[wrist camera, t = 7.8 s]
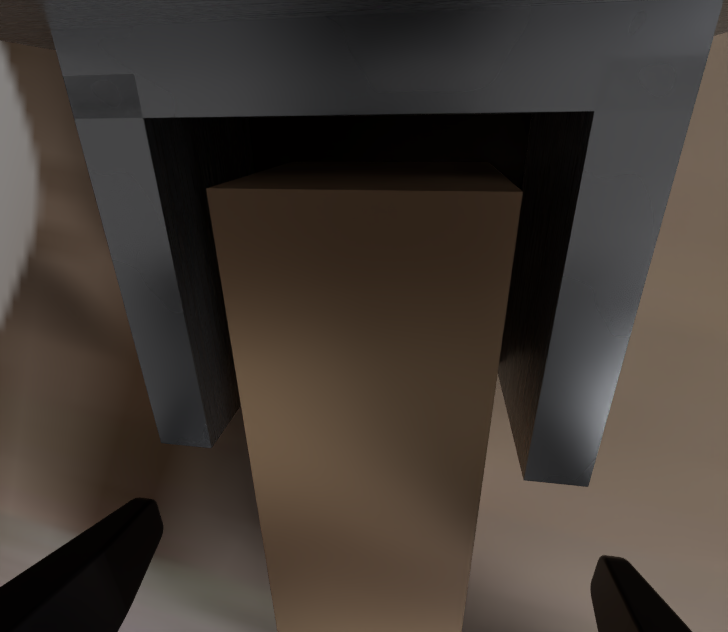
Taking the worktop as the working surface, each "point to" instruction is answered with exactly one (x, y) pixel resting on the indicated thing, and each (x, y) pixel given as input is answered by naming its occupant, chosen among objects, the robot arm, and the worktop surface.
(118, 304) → the worktop surface
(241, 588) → the worktop surface
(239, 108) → the bracket
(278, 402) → the rail
